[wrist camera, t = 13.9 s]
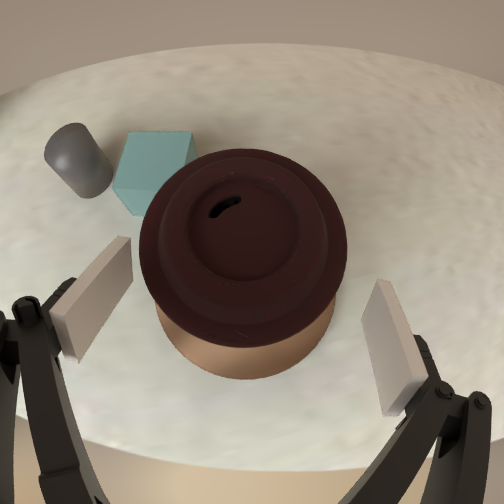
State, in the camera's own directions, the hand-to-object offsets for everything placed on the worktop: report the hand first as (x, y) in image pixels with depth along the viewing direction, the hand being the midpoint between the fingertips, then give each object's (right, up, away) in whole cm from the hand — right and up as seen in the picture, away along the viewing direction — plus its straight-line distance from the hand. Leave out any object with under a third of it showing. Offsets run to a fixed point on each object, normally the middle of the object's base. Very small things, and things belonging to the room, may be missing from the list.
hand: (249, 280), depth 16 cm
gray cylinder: (-17, +10, +15) cm, 25 cm away
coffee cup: (-1, -2, +11) cm, 11 cm away
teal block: (-9, +8, +15) cm, 19 cm away
